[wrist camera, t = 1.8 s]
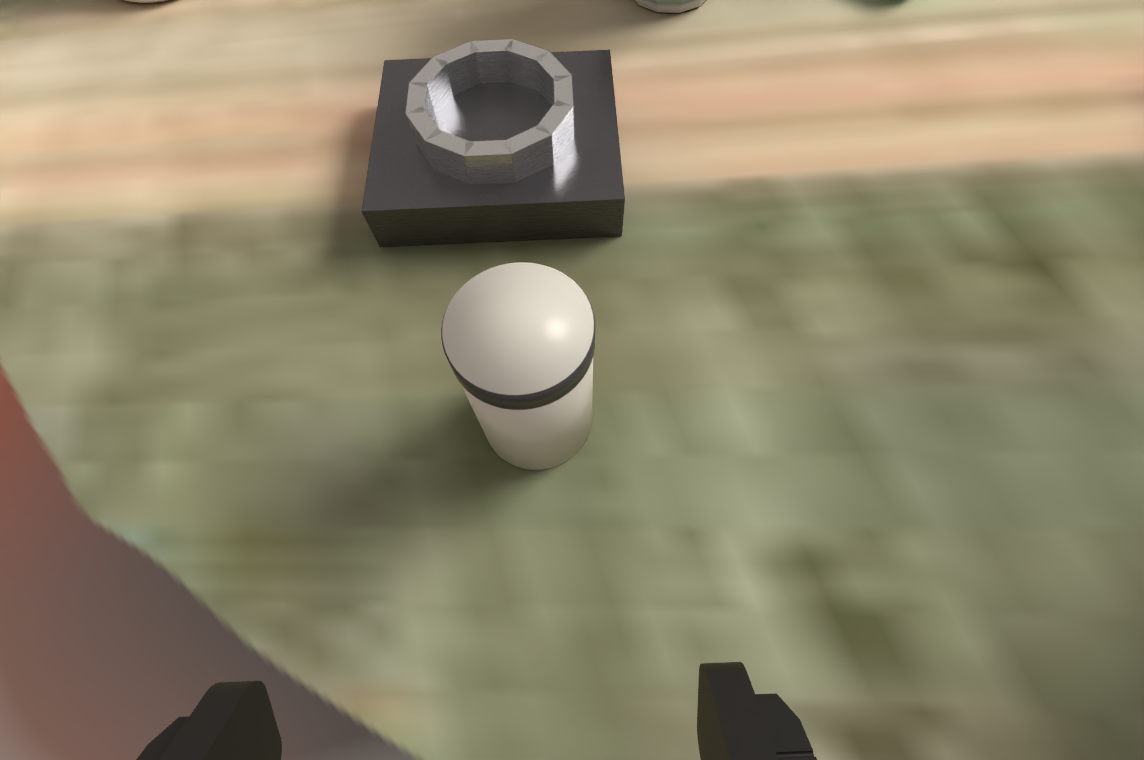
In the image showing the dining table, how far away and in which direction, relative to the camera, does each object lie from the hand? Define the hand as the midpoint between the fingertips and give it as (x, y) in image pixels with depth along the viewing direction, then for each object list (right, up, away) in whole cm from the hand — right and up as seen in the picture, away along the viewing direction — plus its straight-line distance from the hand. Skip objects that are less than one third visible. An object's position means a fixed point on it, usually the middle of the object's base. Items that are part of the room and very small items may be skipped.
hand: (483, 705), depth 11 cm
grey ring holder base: (-3, +19, +25) cm, 32 cm away
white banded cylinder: (0, +4, +18) cm, 18 cm away
